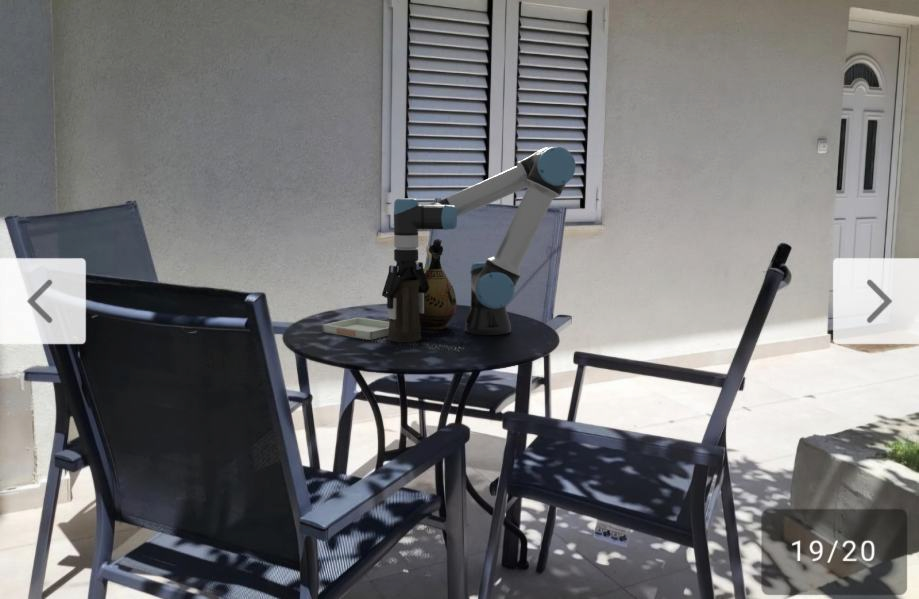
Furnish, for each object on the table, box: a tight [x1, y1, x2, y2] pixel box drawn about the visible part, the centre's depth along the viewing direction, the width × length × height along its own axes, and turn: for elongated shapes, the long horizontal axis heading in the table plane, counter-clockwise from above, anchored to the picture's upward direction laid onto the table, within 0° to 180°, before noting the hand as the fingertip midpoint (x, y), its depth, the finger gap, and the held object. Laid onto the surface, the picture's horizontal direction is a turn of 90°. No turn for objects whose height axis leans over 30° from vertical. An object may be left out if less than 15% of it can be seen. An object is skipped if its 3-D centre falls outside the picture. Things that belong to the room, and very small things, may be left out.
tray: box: [322, 316, 389, 341], centre depth 280 cm, size 17×21×2 cm
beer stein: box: [387, 278, 423, 343], centre depth 266 cm, size 15×11×20 cm
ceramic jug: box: [419, 238, 458, 331], centre depth 288 cm, size 17×15×30 cm
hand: (406, 315), depth 266 cm, fingers open, 13 cm apart
